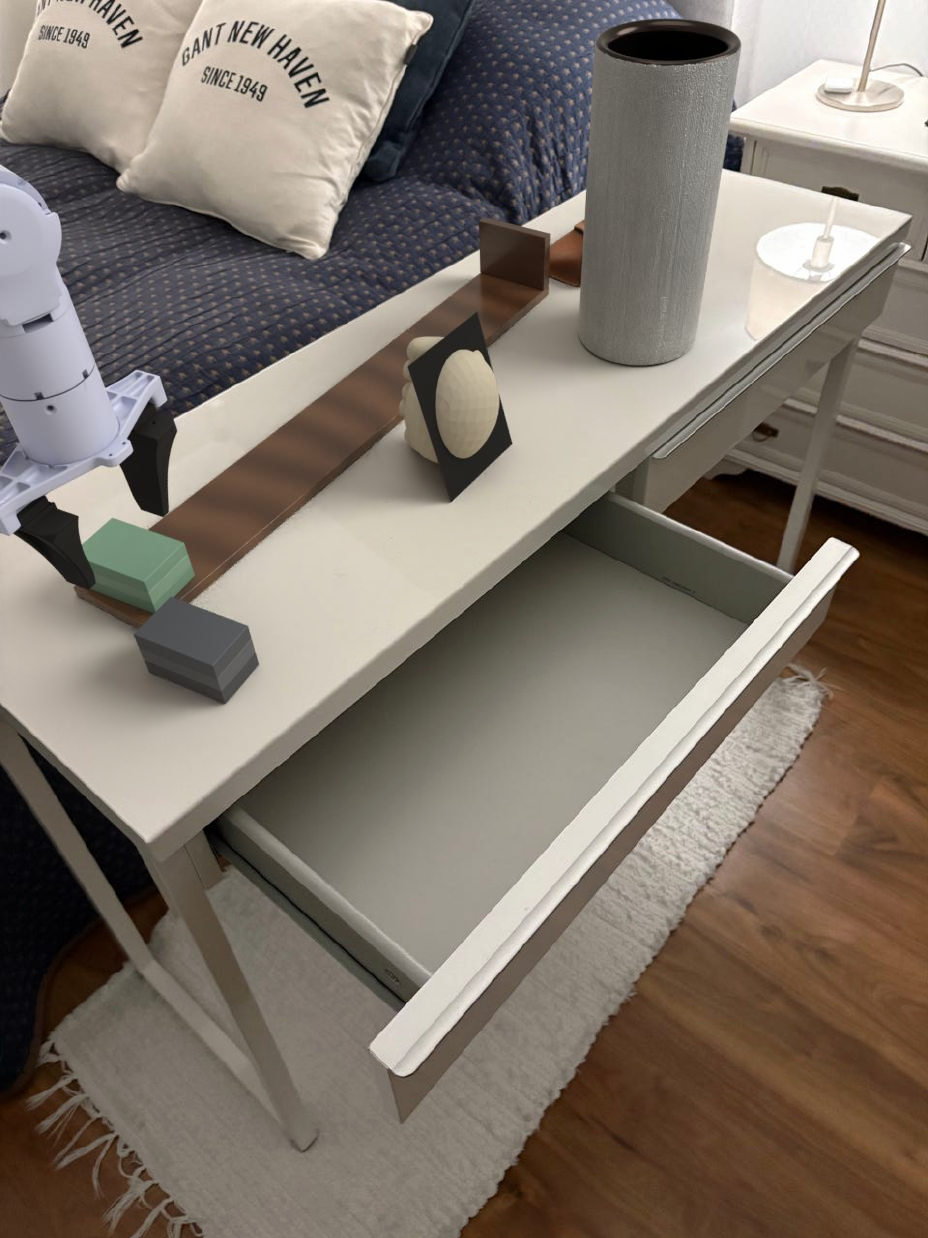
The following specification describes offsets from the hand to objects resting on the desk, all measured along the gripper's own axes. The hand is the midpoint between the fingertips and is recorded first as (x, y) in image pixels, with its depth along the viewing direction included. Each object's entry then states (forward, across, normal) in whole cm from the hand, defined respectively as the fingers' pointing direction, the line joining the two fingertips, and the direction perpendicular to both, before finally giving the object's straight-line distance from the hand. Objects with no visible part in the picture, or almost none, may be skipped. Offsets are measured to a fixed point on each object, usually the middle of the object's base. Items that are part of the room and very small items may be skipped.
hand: (119, 545), depth 65 cm
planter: (+12, +56, -17) cm, 60 cm away
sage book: (+7, +4, +5) cm, 10 cm away
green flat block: (+10, +4, +5) cm, 12 cm away
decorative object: (+12, +30, -9) cm, 33 cm away
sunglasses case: (+13, +73, -7) cm, 74 cm away
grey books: (+10, 0, -4) cm, 11 cm away
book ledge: (+11, +31, +2) cm, 33 cm away
